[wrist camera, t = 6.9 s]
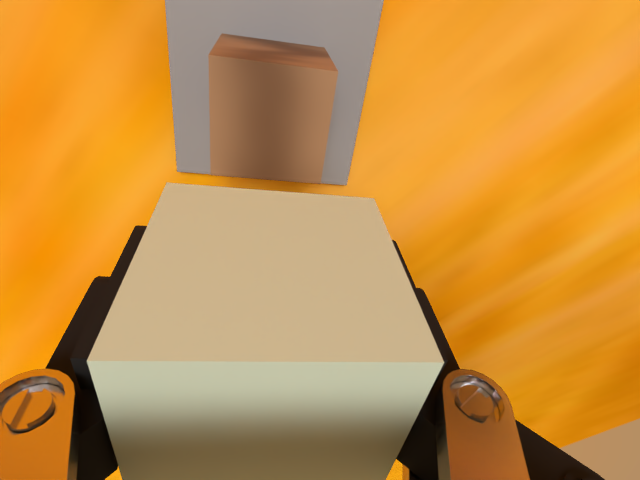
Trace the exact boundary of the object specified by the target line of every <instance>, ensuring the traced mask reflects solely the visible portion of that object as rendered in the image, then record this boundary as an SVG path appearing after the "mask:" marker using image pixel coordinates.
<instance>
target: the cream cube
mask: <svg viewBox="0 0 640 480" xmlns="http://www.w3.org/2000/svg"><path fill="white" fill-rule="evenodd" d="M87 364H88V367H89V370H90V373H91V377H92V380H93V383H94V387H95V390H96V393H97V397H98V400H99V403H100V407H101V410H102V413H103V416H104V420H105V423H106V426H107V430H108V433H109V436H110V440H111V443H112V446H113V450H114V453H115V456H116V459H117V463H118V466H119V469H120V473H121V476H122V479H123V480H386V478H387V476H388V474H389V472H390V470H391V468H392V466H393V464H394V462H395V460H396V458H397V456H398V454H399V452H400V450H401V448H402V446H403V444H404V442H405V440H406V438H407V436H408V434H409V432H410V430H411V428H412V426H413V424H414V422H415V420H416V418H417V416H418V414H419V412H420V410H421V408H422V406H423V404H424V402H425V400H426V398H427V396H428V394H429V392H430V390H431V388H432V386H433V384H434V382H435V380H436V378H437V376H438V374H439V372H440V370H441V368H442V366H443V364H444V361H443V359H442V356H441V354H440V352H439V349H438V347H437V345H436V342H435V340H434V338H433V335H432V333H431V331H430V328H429V326H428V324H427V321H426V319H425V317H424V314H423V312H422V310H421V307H420V305H419V303H418V300H417V298H416V296H415V293H414V291H413V289H412V286H411V284H410V282H409V279H408V277H407V275H406V272H405V270H404V268H403V265H402V263H401V261H400V258H399V256H398V254H397V251H396V249H395V247H394V244H393V242H392V240H391V237H390V235H389V233H388V230H387V228H386V226H385V223H384V221H383V218H382V216H381V214H380V211H379V209H378V207H377V204H376V202H375V200H374V198H362V197H349V196H336V195H323V194H309V193H296V192H283V191H270V190H257V189H243V188H230V187H217V186H204V185H191V184H177V183H166V186H165V188H164V190H163V192H162V195H161V197H160V199H159V201H158V203H157V206H156V208H155V210H154V212H153V215H152V217H151V219H150V221H149V223H148V226H147V228H146V230H145V232H144V235H143V237H142V239H141V241H140V243H139V246H138V248H137V250H136V252H135V255H134V257H133V259H132V261H131V264H130V266H129V268H128V270H127V272H126V275H125V277H124V279H123V281H122V284H121V286H120V288H119V290H118V292H117V295H116V297H115V299H114V301H113V304H112V306H111V308H110V310H109V312H108V315H107V317H106V319H105V321H104V324H103V326H102V328H101V330H100V333H99V335H98V337H97V339H96V341H95V344H94V346H93V348H92V350H91V353H90V355H89V357H88V359H87Z"/></svg>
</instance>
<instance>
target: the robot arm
mask: <svg viewBox="0 0 640 480" xmlns="http://www.w3.org/2000/svg"><path fill="white" fill-rule="evenodd" d="M146 228H147V226H135V228H134V230H133V232H132V234H131V236H130V238H129V240H128V242H127V244H126V246H125V248H124V250H123V252H122V254H121V256H120V258H119V260H118V262H117V264H116V266H115V268H114V270H113V272H112V274H111V276H110V277H103V276H98V277H96V278H95V279H94V280H93V282H92V283H91V285H90V287H89V289H88V291H87V292H86V294H85V296H84V298H83V300H82V302H81V304H80V305H79V307H78V309H77V311H76V313H75V315H74V317H73V318H72V320H71V322H70V324H69V326H68V328H67V329H66V331H65V333H64V335H63V337H62V339H61V341H60V342H59V344H58V346H57V348H56V350H55V352H54V354H53V355H52V357H51V359H50V361H49V363H48V365H47V366H46V368H45V369H37V370H31V371H28V372H24V373H21V374H18V375H16V376H14V377H12V378H10V379H8V380H6V381H4V382H3V383H1V384H0V480H105V478H107V477H108V476H109V475H110V474H112V473H113V472H114V471H116V470H117V468H118V463H117V459H116V456H115V453H114V450H113V446H112V443H111V440H110V436H109V433H108V430H107V426H106V423H105V420H104V416H103V413H102V410H101V407H100V403H99V400H98V397H97V393H96V390H95V387H94V383H93V380H92V377H91V373H90V370H89V367H88V364H87V359H88V357H89V355H90V353H91V350H92V348H93V346H94V344H95V341H96V339H97V337H98V335H99V333H100V330H101V328H102V326H103V324H104V321H105V319H106V317H107V315H108V312H109V310H110V308H111V306H112V304H113V301H114V299H115V297H116V295H117V292H118V290H119V288H120V286H121V284H122V281H123V279H124V277H125V275H126V272H127V270H128V268H129V266H130V264H131V261H132V259H133V257H134V255H135V252H136V250H137V248H138V246H139V243H140V241H141V239H142V237H143V235H144V232H145V230H146ZM392 242H393V244H394V247H395V249H396V251H397V254H398V256H399V258H400V261H401V263H402V265H403V268H404V270H405V272H406V275H407V277H408V279H409V282H410V284H411V286H412V289H413V291H414V293H415V296H416V298H417V300H418V303H419V305H420V307H421V310H422V312H423V314H424V317H425V319H426V321H427V324H428V326H429V328H430V331H431V333H432V335H433V338H434V340H435V342H436V345H437V347H438V349H439V352H440V354H441V356H442V359H443V361H444V364H443V366H442V368H441V370H440V372H439V374H438V376H437V378H436V380H435V382H434V384H433V386H432V388H431V390H430V392H429V394H428V396H427V398H426V400H425V402H424V404H423V406H422V408H421V410H420V412H419V414H418V416H417V418H416V420H415V422H414V424H413V426H412V428H411V430H410V432H409V434H408V436H407V438H406V440H405V442H404V444H403V446H402V448H401V450H400V452H399V454H398V456H397V458H396V459H397V460H398V461H400V462H401V463H402V464H403V480H604V479H603V478H602V477H601V476H600V475H598V474H597V473H595V472H594V471H592V470H591V469H589V468H588V467H586V466H584V465H583V464H582V463H580V462H579V461H577V460H576V459H574V458H573V457H571V456H570V455H568V454H567V453H565V452H563V451H562V450H561V449H559V448H558V447H556V446H554V445H553V444H551V443H550V442H548V441H547V440H545V439H544V438H542V437H541V436H539V435H538V434H536V433H535V432H533V431H532V430H530V429H529V428H527V427H526V426H524V425H523V424H521V423H520V422H518V421H517V420H515V418H514V414H513V410H512V406H511V404H510V401H509V399H508V397H507V395H506V394H505V392H504V391H503V390H502V388H501V387H500V386H499V385H497V384H496V383H495V382H494V381H493V380H492V379H490V378H489V377H487V376H485V375H484V374H482V373H479V372H476V371H473V370H467V369H460V368H459V366H458V364H457V362H456V360H455V357H454V355H453V353H452V351H451V349H450V346H449V344H448V342H447V340H446V338H445V336H444V333H443V331H442V329H441V327H440V325H439V322H438V320H437V318H436V316H435V314H434V312H433V309H432V307H431V305H430V303H429V301H428V298H427V296H426V294H425V293H424V291H423V290H422V289H420V288H416V287H415V284H414V282H413V280H412V278H411V275H410V273H409V271H408V268H407V266H406V264H405V262H404V259H403V257H402V255H401V253H400V250H399V248H398V246H397V243H396V242H395V241H394V240H392Z"/></svg>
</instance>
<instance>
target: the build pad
mask: <svg viewBox="0 0 640 480" xmlns="http://www.w3.org/2000/svg"><path fill="white" fill-rule="evenodd" d="M383 1H384V0H165V5H166V20H167V34H168V48H169V62H170V76H171V90H172V104H173V119H174V133H175V147H176V161H177V172H190V173H202V174H211V169H210V114H209V59H208V55H209V53H210V51H211V50H212V48H213V47H214V45H215V43H216V42H217V40H218V39H219V37H220V35H221V34H222V33H223V34H230V35H238V36H245V37H252V38H259V39H267V40H274V41H281V42H288V43H296V44H303V45H310V46H317V47H325V49H326V51H327V53H328V54H329V56H330V58H331V60H332V61H333V63H334V65H335V67H336V68H337V70H338V77H337V83H336V89H335V96H334V102H333V108H332V115H331V121H330V127H329V134H328V140H327V146H326V152H325V159H324V165H323V171H322V178H321V183H325V184H337V185H347V180H348V176H349V171H350V166H351V161H352V156H353V151H354V146H355V141H356V136H357V131H358V126H359V121H360V116H361V111H362V106H363V101H364V96H365V91H366V86H367V81H368V76H369V71H370V66H371V61H372V56H373V51H374V46H375V41H376V36H377V31H378V26H379V21H380V16H381V11H382V6H383Z"/></svg>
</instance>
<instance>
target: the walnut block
mask: <svg viewBox="0 0 640 480" xmlns="http://www.w3.org/2000/svg"><path fill="white" fill-rule="evenodd" d="M208 59H209V114H210V169H211V175H218V176H230V177H242V178H255V179H267V180H279V181H292V182H304V183H317V184H321V178H322V171H323V165H324V159H325V152H326V146H327V140H328V134H329V127H330V121H331V115H332V108H333V102H334V96H335V89H336V83H337V77H338V70H337V68H336V67H335V65H334V63H333V61H332V60H331V58H330V56H329V54H328V53H327V51H326V49H325V47H317V46H310V45H303V44H296V43H288V42H281V41H274V40H267V39H259V38H252V37H245V36H238V35H230V34H223V33H222V34H221V35H220V37H219V39H218V40H217V42H216V43H215V45H214V47H213V48H212V50H211V51H210V53H209V55H208Z"/></svg>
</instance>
